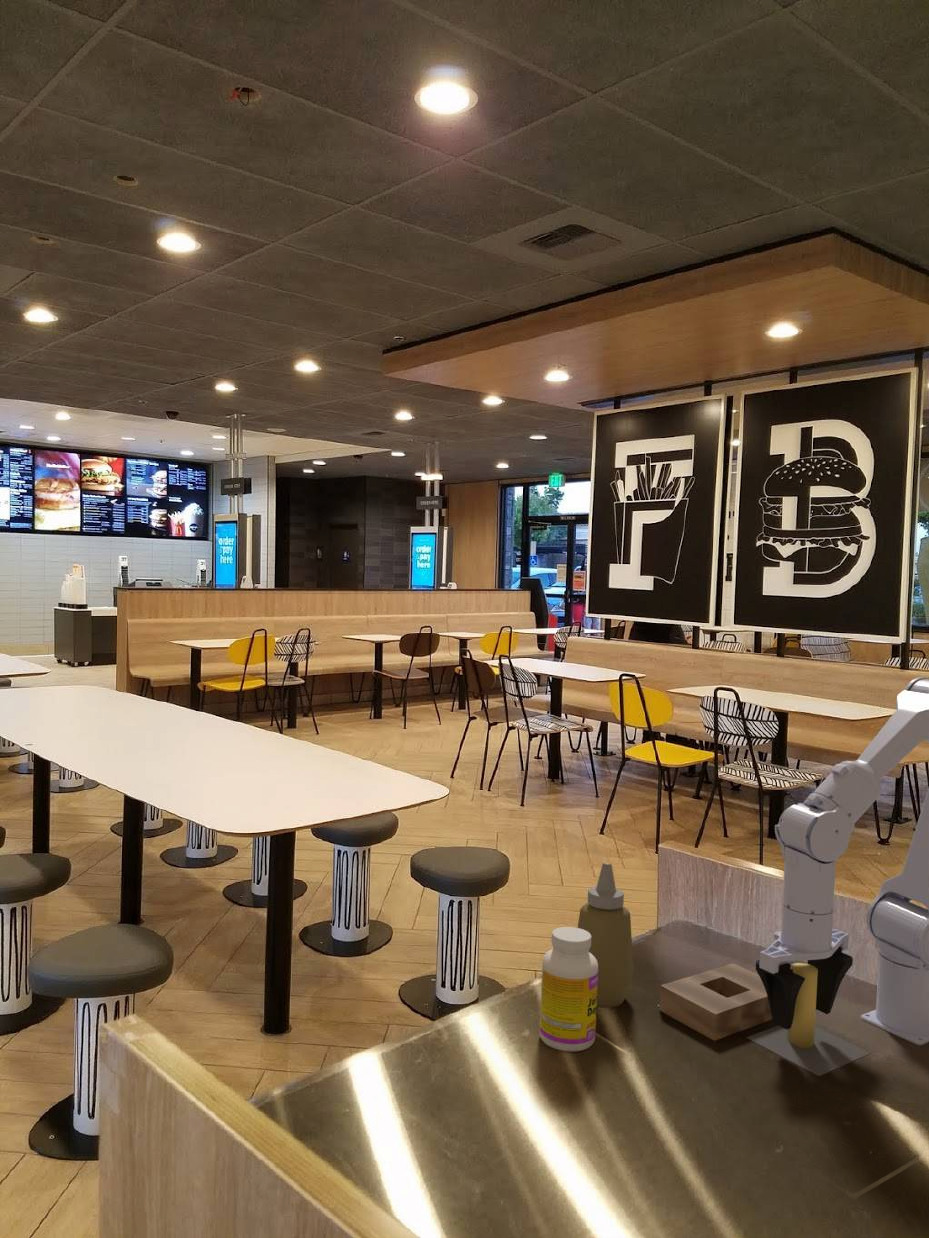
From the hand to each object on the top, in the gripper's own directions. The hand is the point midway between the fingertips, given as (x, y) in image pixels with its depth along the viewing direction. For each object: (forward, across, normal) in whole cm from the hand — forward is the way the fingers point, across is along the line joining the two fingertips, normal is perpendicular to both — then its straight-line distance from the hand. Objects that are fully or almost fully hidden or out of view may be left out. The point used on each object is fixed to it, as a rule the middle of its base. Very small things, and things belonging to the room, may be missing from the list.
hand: (801, 1017), depth 110 cm
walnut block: (+3, +2, -10) cm, 11 cm away
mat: (+3, 0, +1) cm, 3 cm away
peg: (+3, 0, 0) cm, 3 cm away
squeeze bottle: (+3, +13, -21) cm, 25 cm away
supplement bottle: (+3, +24, -15) cm, 29 cm away
